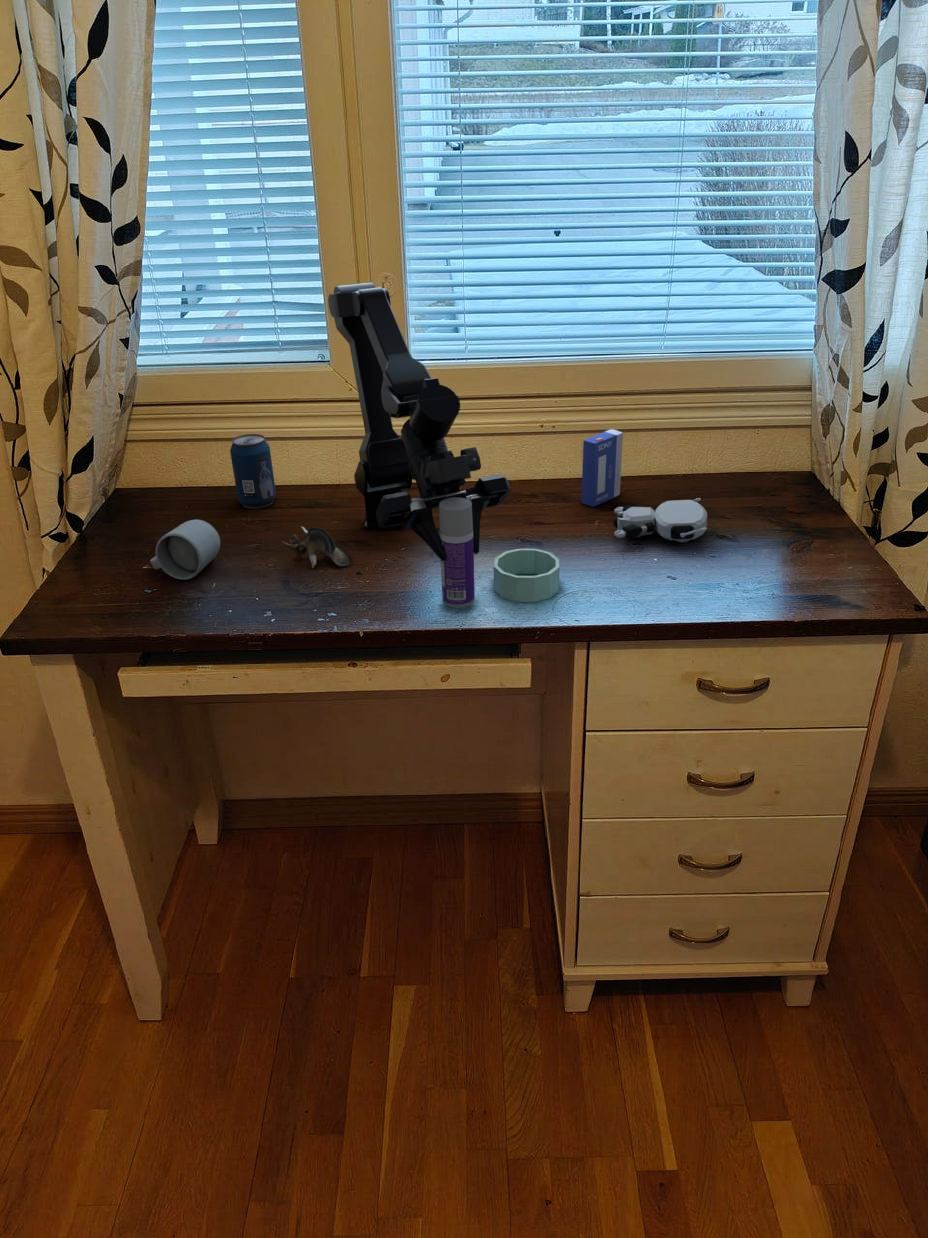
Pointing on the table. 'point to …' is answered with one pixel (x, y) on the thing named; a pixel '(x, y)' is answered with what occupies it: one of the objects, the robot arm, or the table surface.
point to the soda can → (253, 471)
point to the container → (457, 552)
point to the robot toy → (662, 520)
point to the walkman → (601, 467)
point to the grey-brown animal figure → (317, 546)
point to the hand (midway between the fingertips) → (460, 556)
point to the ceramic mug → (187, 549)
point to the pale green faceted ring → (526, 586)
